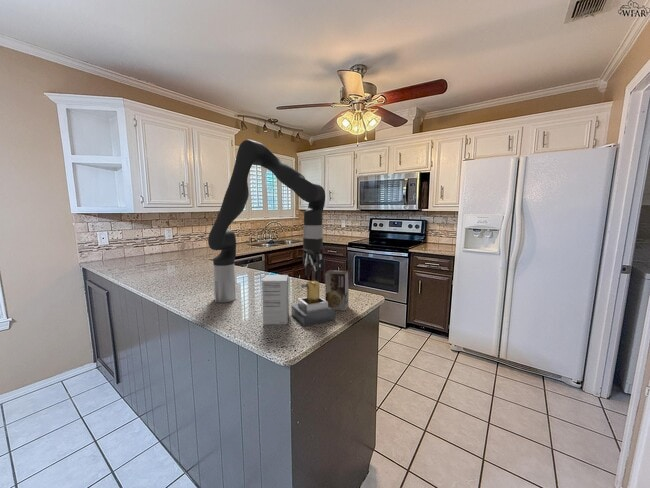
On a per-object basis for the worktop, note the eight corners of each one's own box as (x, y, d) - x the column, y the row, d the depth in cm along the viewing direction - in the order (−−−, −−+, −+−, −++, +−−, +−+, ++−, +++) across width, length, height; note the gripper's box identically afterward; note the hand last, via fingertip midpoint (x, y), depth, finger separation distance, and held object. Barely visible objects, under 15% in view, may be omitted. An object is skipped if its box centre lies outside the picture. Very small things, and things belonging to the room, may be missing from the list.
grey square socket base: (304, 326, 100) (303, 307, 99) (291, 314, 111) (291, 297, 110) (334, 320, 105) (335, 302, 105) (320, 309, 117) (320, 293, 116)
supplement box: (266, 315, 110) (265, 274, 108) (289, 314, 111) (288, 274, 109) (262, 325, 100) (261, 280, 98) (287, 324, 101) (287, 280, 99)
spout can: (321, 308, 107) (321, 283, 105) (304, 311, 103) (304, 286, 102) (315, 303, 111) (315, 280, 110) (299, 306, 108) (299, 282, 106)
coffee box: (348, 306, 121) (349, 270, 119) (345, 311, 115) (345, 274, 113) (329, 304, 124) (329, 269, 122) (324, 308, 117) (324, 272, 116)
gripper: (296, 235, 109) (297, 275, 111) (311, 239, 96) (311, 283, 98) (313, 235, 112) (313, 273, 114) (330, 238, 100) (329, 281, 102)
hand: (312, 278), depth 106 cm, fingers open, 8 cm apart
